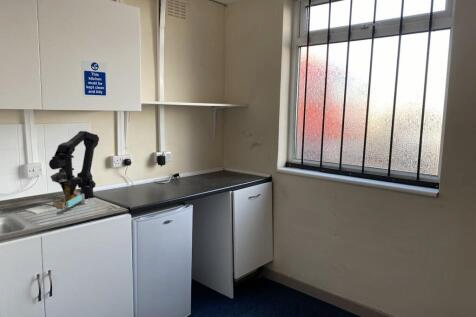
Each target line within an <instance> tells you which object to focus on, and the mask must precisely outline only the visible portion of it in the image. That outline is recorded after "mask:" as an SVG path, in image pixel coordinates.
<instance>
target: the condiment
mask: <svg viewBox="0 0 476 317" xmlns="http://www.w3.org/2000/svg"><path fill="white" fill-rule="evenodd" d="M67 184H68V183H66V184H65V189H64V192H65V194H64V198H65V203H66V202H67V201H69V200H71V199H73V198H75V197H76V196H78V195H77V188H76V189H75V191H74V193H73V195H71V194H70V189H69V186H68V185H67ZM64 192H63V193H64ZM75 205H80V203H76V204H74V205H73V206H75ZM64 207H66V204H64Z"/></svg>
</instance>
